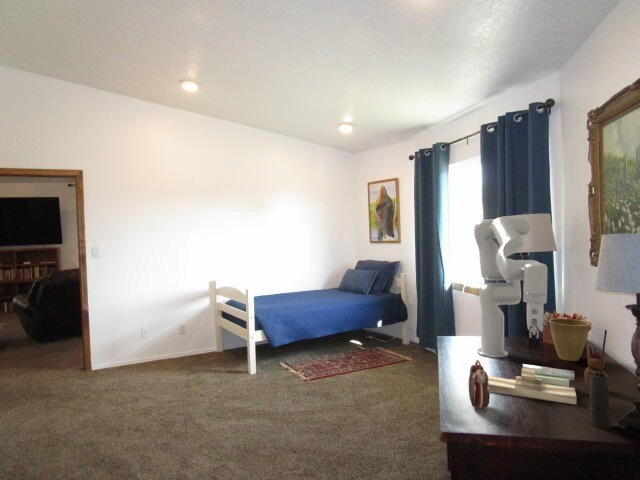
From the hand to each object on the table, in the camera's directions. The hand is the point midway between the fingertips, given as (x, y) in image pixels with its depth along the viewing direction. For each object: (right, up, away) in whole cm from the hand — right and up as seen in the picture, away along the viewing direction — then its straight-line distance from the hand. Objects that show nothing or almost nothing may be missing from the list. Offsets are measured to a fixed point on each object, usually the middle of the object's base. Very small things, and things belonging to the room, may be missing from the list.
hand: (533, 344), depth 156 cm
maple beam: (-5, -15, -7) cm, 17 cm away
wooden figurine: (+19, -15, -5) cm, 25 cm away
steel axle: (+4, -11, -2) cm, 11 cm away
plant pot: (+30, -13, +30) cm, 45 cm away
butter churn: (+3, -16, -30) cm, 34 cm away
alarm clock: (-27, -16, -19) cm, 36 cm away
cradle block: (+5, -15, -3) cm, 15 cm away
